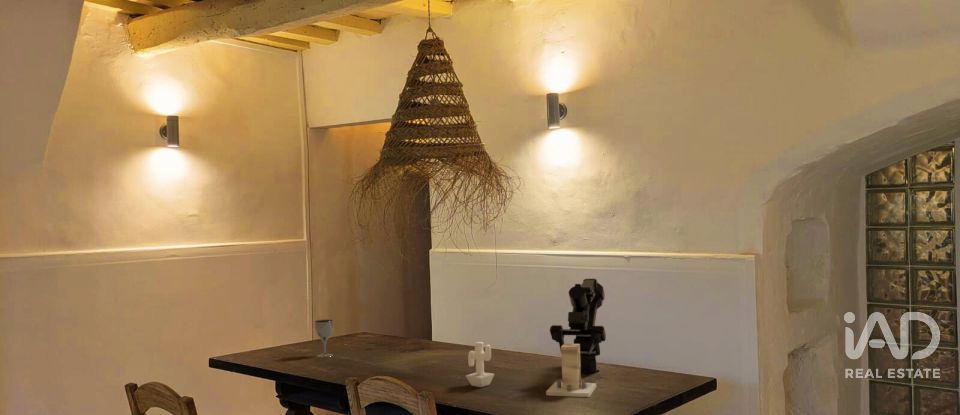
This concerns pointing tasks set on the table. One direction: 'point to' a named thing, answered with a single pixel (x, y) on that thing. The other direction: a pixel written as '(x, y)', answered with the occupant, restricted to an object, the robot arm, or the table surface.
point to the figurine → (479, 365)
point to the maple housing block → (571, 366)
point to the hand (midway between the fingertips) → (575, 353)
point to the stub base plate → (571, 390)
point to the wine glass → (324, 333)
